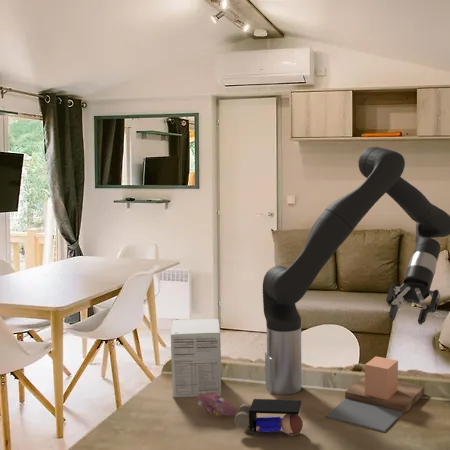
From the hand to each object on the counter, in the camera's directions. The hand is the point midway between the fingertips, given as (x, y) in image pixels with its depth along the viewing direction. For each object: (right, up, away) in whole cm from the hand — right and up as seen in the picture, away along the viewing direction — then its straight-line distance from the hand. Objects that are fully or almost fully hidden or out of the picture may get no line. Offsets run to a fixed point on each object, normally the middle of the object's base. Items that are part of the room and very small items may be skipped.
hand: (405, 320), depth 176 cm
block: (-10, -17, -12) cm, 22 cm away
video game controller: (-52, -21, -17) cm, 58 cm away
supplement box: (-57, -18, 0) cm, 60 cm away
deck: (-8, -18, -9) cm, 22 cm away
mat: (-16, -20, -20) cm, 32 cm away
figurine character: (-39, -22, -28) cm, 53 cm away
